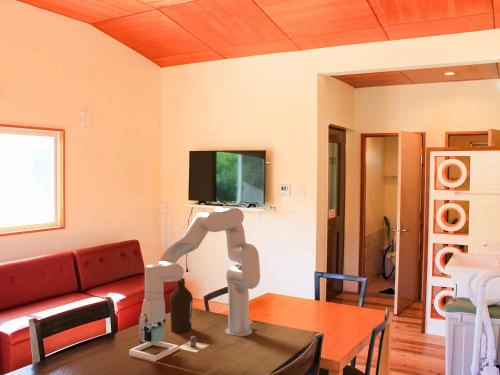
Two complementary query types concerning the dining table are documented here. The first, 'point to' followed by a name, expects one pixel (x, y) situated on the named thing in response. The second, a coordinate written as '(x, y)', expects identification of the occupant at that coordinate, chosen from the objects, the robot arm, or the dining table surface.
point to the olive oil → (181, 308)
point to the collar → (155, 333)
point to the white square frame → (151, 357)
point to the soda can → (141, 331)
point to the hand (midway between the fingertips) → (153, 338)
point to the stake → (193, 345)
